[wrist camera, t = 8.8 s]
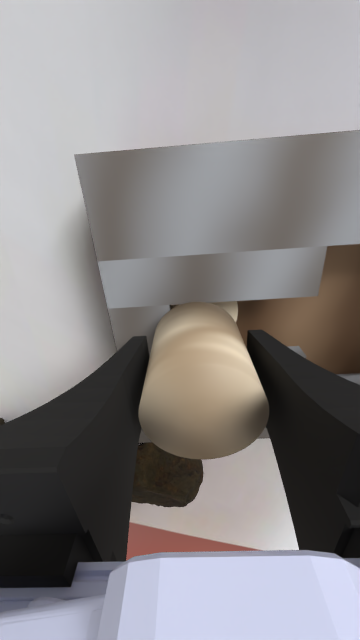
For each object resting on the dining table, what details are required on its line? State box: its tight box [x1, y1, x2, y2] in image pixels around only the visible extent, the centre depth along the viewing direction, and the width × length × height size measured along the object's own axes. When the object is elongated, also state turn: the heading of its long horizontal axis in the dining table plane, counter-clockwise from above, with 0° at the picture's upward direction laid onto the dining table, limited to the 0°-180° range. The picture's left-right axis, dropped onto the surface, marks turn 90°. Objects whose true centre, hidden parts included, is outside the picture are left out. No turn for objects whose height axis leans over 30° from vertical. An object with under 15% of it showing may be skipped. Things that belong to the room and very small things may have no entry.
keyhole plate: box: [74, 130, 360, 443], centre depth 15 cm, size 18×16×4 cm
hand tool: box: [0, 418, 203, 507], centre depth 22 cm, size 19×4×5 cm, turn 76°
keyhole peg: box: [139, 301, 269, 459], centre depth 12 cm, size 5×5×9 cm
